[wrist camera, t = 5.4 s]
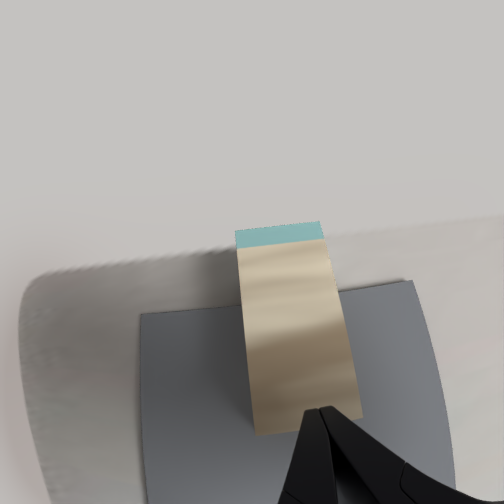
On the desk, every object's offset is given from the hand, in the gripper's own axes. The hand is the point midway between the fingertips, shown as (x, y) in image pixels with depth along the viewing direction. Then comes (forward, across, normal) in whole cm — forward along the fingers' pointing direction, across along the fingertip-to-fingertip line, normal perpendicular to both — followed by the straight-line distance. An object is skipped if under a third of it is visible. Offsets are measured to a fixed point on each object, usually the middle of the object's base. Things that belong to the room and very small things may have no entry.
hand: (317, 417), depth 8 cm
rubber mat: (+3, 0, +6) cm, 7 cm away
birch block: (+3, 0, +3) cm, 4 cm away
